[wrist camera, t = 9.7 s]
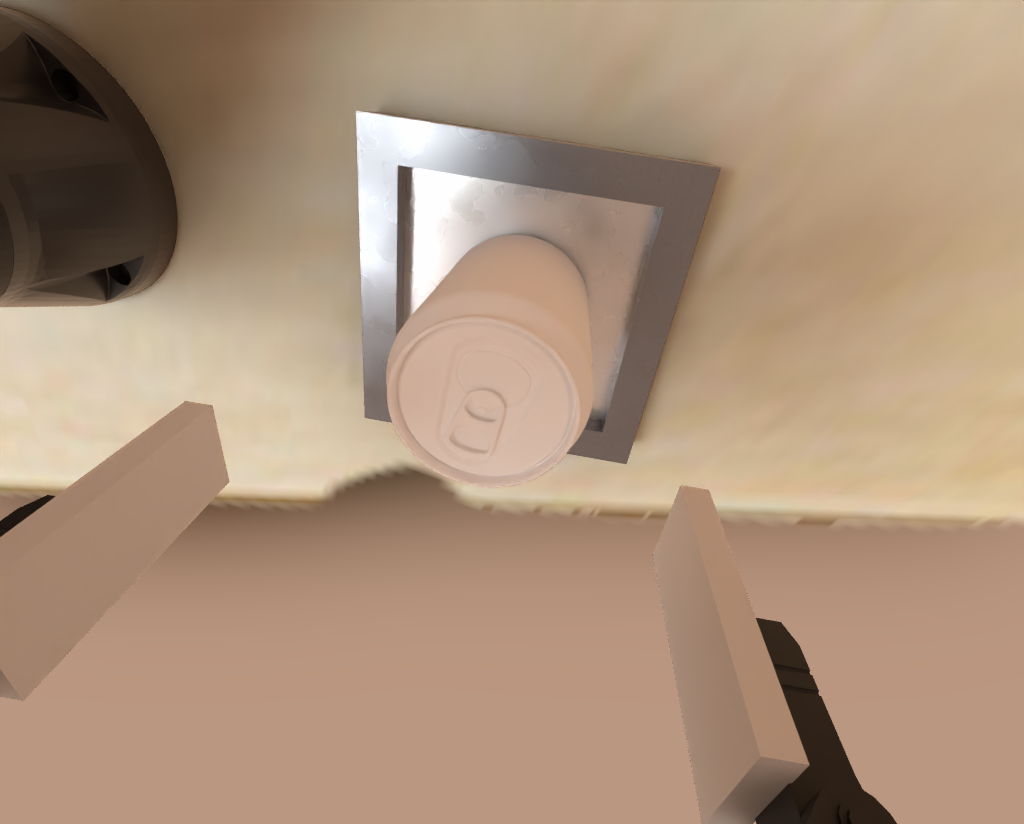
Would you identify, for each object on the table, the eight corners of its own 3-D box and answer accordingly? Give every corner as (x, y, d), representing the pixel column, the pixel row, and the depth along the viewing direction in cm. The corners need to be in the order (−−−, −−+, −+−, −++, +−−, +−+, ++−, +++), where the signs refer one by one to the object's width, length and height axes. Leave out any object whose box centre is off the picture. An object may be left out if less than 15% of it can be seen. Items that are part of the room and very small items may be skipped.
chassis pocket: (378, 399, 34) (364, 417, 32) (375, 111, 25) (356, 111, 23) (623, 442, 33) (626, 464, 31) (708, 163, 24) (720, 167, 22)
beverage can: (613, 266, 26) (636, 357, 16) (554, 388, 30) (543, 523, 20) (471, 207, 26) (401, 264, 15) (431, 340, 30) (355, 455, 20)
